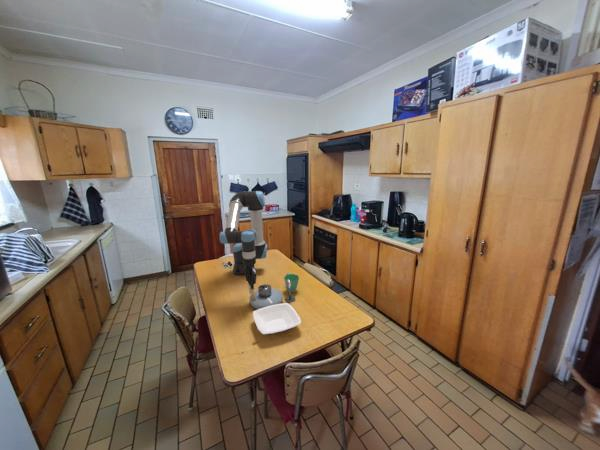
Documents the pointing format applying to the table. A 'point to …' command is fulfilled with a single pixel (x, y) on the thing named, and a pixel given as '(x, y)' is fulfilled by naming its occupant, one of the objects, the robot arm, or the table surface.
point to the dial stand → (290, 297)
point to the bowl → (276, 318)
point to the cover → (264, 291)
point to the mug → (292, 281)
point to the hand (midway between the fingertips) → (251, 293)
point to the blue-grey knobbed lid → (265, 299)
